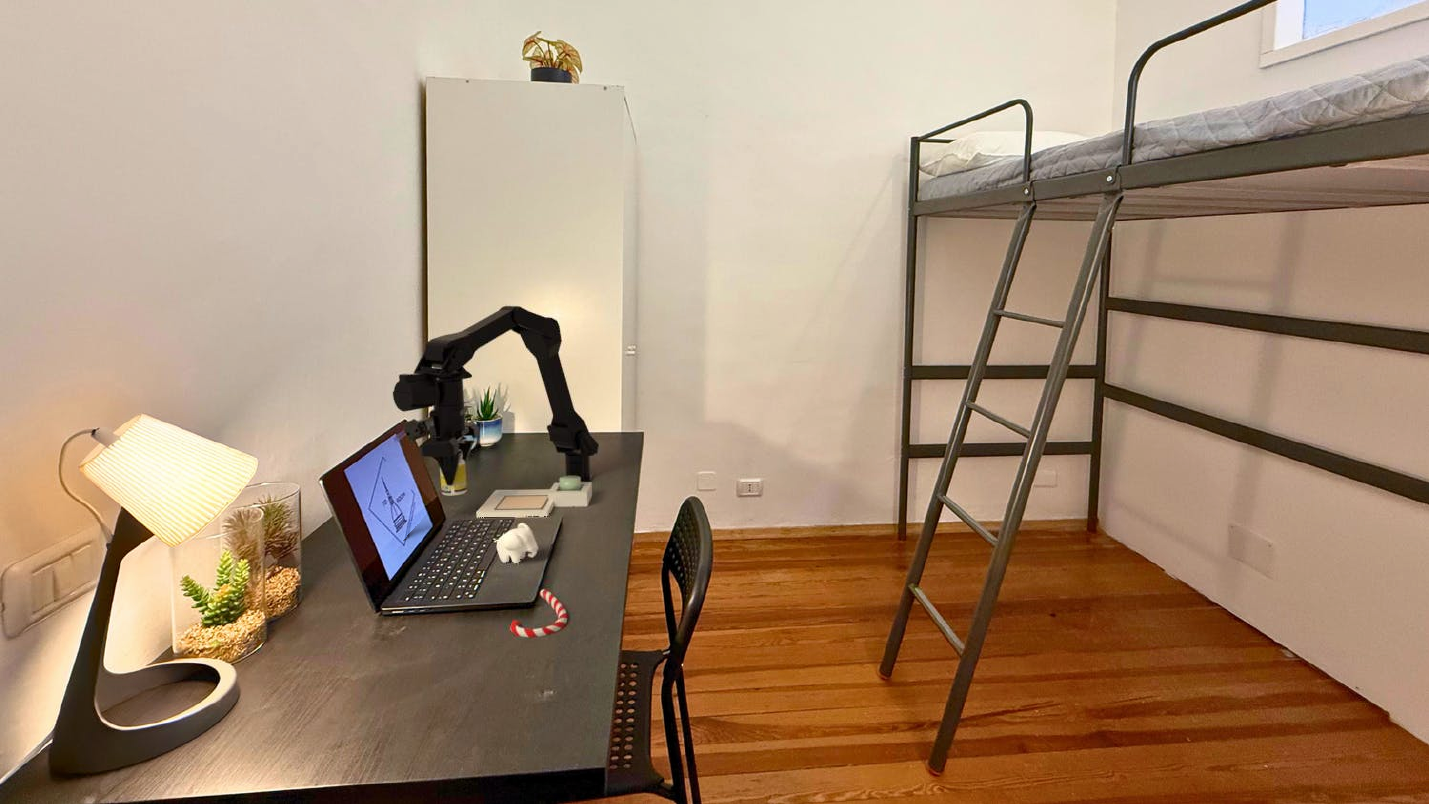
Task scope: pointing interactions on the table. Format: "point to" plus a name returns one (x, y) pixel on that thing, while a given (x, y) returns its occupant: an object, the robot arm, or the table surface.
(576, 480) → the button
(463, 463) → the supplement bottle
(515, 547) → the elephant figurine
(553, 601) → the candy cane
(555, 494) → the button box
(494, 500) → the colouring board
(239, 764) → the table surface
